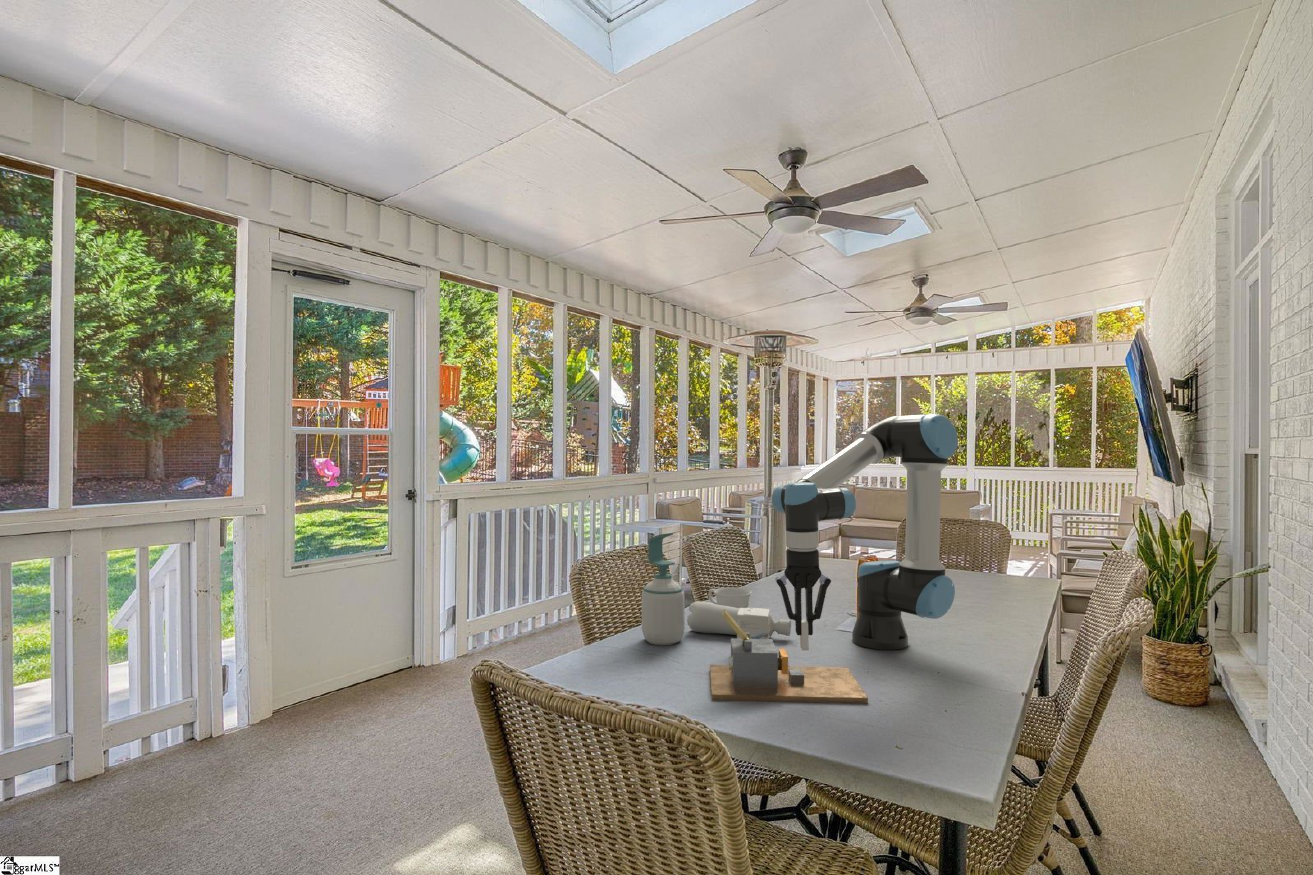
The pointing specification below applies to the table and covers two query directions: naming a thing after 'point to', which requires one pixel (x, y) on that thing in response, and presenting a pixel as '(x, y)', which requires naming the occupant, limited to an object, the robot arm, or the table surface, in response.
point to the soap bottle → (662, 600)
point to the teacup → (731, 597)
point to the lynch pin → (781, 662)
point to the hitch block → (779, 678)
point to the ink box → (754, 622)
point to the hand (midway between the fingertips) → (804, 648)
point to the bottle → (712, 621)
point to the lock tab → (734, 625)
